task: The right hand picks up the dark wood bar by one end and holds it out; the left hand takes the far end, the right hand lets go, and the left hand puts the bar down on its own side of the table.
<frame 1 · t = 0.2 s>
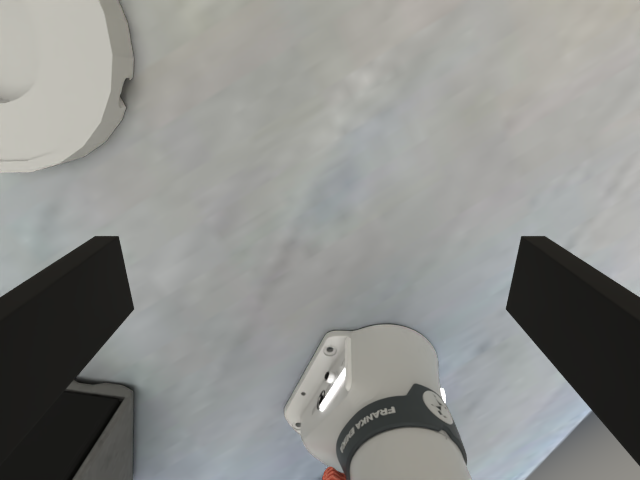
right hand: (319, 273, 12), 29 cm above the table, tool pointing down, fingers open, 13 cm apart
ashtray: (11, 43, 36), on the table
electronic device: (17, 423, 53), on the table
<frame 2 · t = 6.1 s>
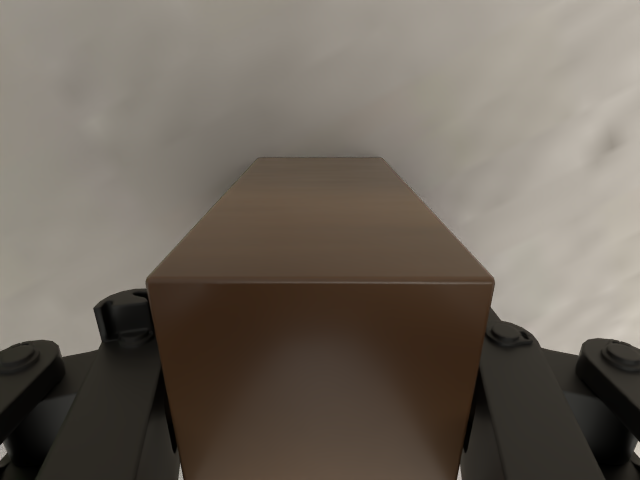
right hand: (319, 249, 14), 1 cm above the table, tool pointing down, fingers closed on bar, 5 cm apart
bar: (320, 424, 18), on the table, touching right hand
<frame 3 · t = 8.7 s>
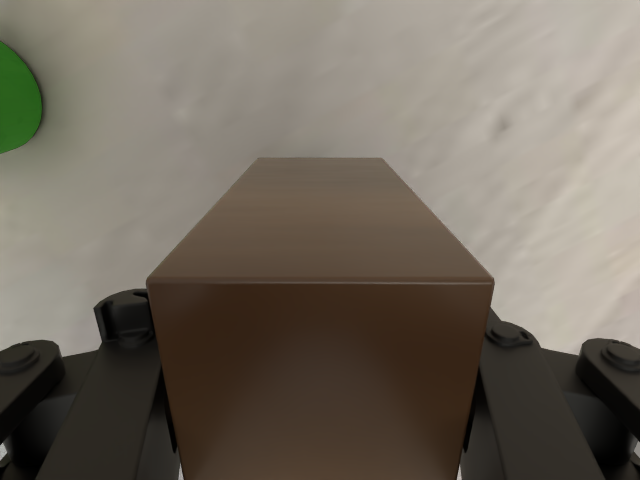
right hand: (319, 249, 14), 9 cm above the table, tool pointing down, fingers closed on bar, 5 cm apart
bar: (320, 424, 18), point 9 cm above the table, touching right hand
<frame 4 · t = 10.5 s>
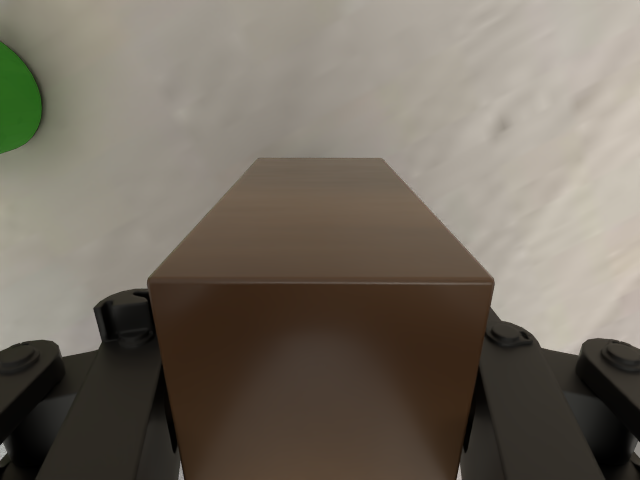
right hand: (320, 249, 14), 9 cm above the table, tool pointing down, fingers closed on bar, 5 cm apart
bar: (319, 424, 18), point 9 cm above the table, touching right hand, left hand
when the right hand's fingers open (9 cm above the table, at t = 11.3 s): bar stays where it is, held by the left hand.
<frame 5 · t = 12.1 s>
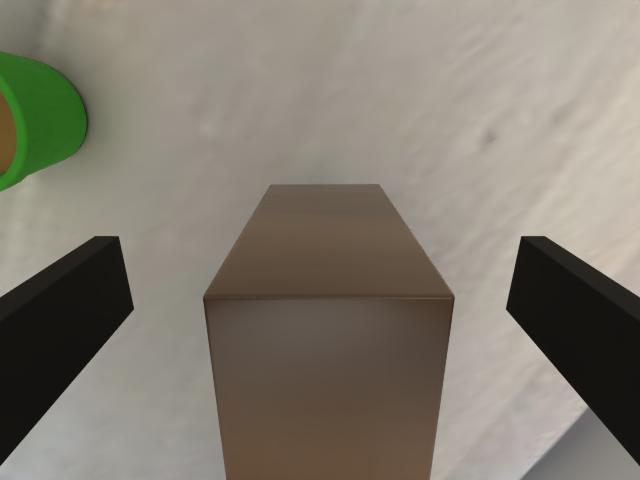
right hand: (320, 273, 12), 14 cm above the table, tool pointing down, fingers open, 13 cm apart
bar: (324, 422, 20), point 10 cm above the table, touching left hand
potted flower: (38, 109, 24), on the table
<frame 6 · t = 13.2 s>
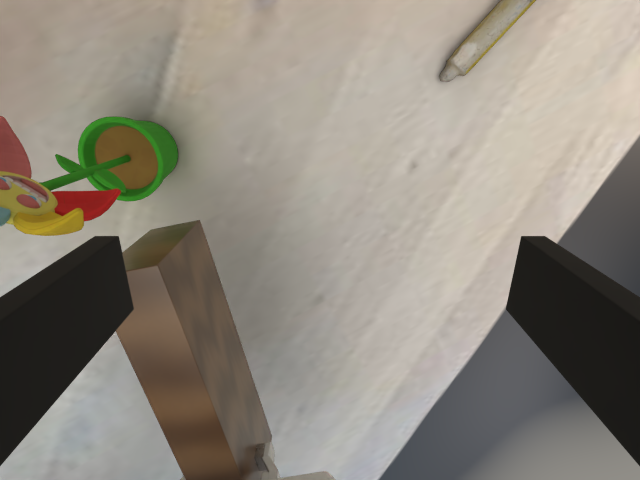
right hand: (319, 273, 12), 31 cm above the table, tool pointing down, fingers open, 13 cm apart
bar: (218, 345, 38), point 11 cm above the table, touching left hand
potted flower: (148, 148, 41), on the table
when the left hand's fingers open (6 cm above the table, at t = 16.4 s): bar stays where it is, on the table.
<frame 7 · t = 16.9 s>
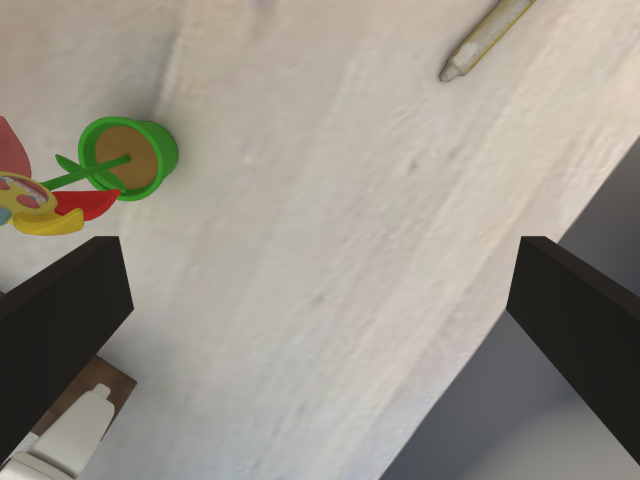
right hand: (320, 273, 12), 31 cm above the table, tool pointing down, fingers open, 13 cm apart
bar: (46, 338, 50), on the table
potted flower: (148, 148, 41), on the table
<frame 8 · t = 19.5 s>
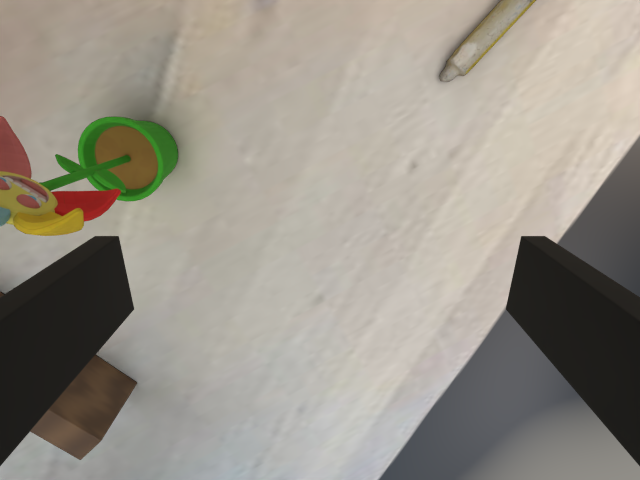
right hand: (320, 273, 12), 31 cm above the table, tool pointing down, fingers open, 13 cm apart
bar: (46, 338, 50), on the table
potted flower: (148, 148, 41), on the table
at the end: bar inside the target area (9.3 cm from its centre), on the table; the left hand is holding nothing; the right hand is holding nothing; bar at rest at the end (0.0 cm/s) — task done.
